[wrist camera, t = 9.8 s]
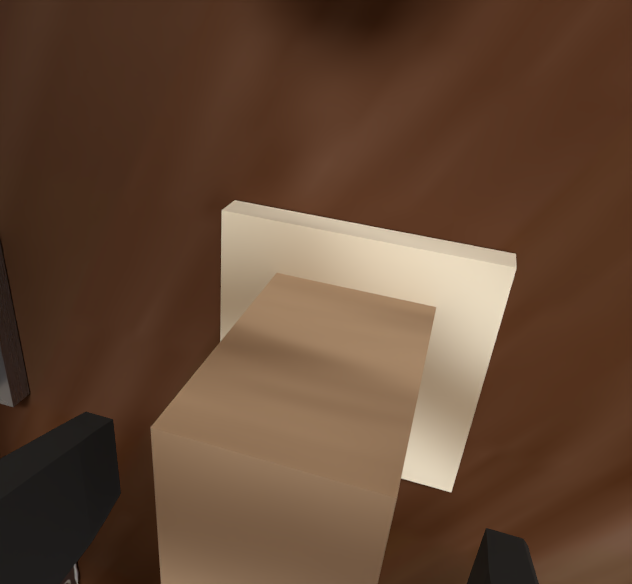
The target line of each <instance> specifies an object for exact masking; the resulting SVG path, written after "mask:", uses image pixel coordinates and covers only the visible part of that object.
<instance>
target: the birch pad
mask: <svg viewBox="0 0 632 584" xmlns="http://www.w3.org/2000/svg"><path fill="white" fill-rule="evenodd" d="M516 268H517V266H516V254H514V253H508V252H503V251H498V250H493V249H487V248H482V247H477V246H472V245H466V244H461V243H456V242H451V241H446V240H440V239H435V238H430V237H425V236H419V235H414V234H409V233H404V232H398V231H393V230H388V229H383V228H377V227H372V226H367V225H362V224H356V223H351V222H346V221H341V220H335V219H330V218H325V217H320V216H314V215H309V214H304V213H299V212H294V211H288V210H283V209H278V208H273V207H267V206H262V205H257V204H252V203H246V202H241V201H236V200H235V201H233V202H232V203H231V204H229V205H228V206H227V207H225V208H224V209H223V210H222V231H221V328H220V342H221V340H222V339H223V338H224V337H225V335H226V334H227V333H228V332H229V331H230V329H231V328H232V327H233V326H234V324H235V323H236V322H237V321H238V320H239V318H240V317H241V316H242V315H243V313H244V312H245V311H246V310H247V309H248V307H249V306H250V305H251V304H252V302H253V301H254V300H255V299H256V297H257V296H258V295H259V294H260V293H261V291H262V290H263V289H264V288H265V286H266V285H267V284H268V283H269V282H270V280H271V279H272V278H273V277H274V275H275V274H276V273H280V274H285V275H290V276H294V277H299V278H304V279H308V280H313V281H317V282H322V283H327V284H331V285H336V286H341V287H345V288H350V289H355V290H359V291H364V292H369V293H373V294H378V295H383V296H387V297H392V298H397V299H401V300H406V301H411V302H415V303H420V304H425V305H429V306H434V307H436V311H435V316H434V321H433V326H432V331H431V336H430V340H429V345H428V350H427V355H426V360H425V365H424V370H423V374H422V379H421V384H420V389H419V394H418V399H417V403H416V408H415V413H414V418H413V423H412V428H411V432H410V437H409V442H408V447H407V452H406V457H405V461H404V466H403V471H402V476H401V478H402V479H405V480H409V481H412V482H416V483H420V484H423V485H427V486H430V487H434V488H437V489H441V490H445V491H448V492H452V488H453V485H454V481H455V478H456V475H457V471H458V468H459V464H460V461H461V457H462V454H463V451H464V447H465V444H466V440H467V437H468V433H469V430H470V426H471V423H472V420H473V416H474V413H475V409H476V406H477V402H478V399H479V396H480V392H481V389H482V385H483V382H484V378H485V375H486V371H487V368H488V365H489V361H490V358H491V354H492V351H493V347H494V344H495V341H496V337H497V334H498V330H499V327H500V323H501V320H502V316H503V313H504V310H505V306H506V303H507V299H508V296H509V292H510V289H511V286H512V282H513V279H514V275H515V272H516Z"/></svg>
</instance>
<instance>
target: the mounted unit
mask: <svg viewBox="0 0 632 584" xmlns="http://www.w3.org/2000/svg"><path fill="white" fill-rule="evenodd" d="M29 394H30V392H29V387H28V381H27V376H26V371H25V366H24V361H23V356H22V351H21V345H20V340H19V335H18V330H17V325H16V320H15V315H14V309H13V304H12V299H11V294H10V289H9V284H8V279H7V273H6V268H5V263H4V258H3V253H2V248H1V243H0V403H1V404H4V405H7V406H11V407H14V406H16V405H17V404H18V403H19V402H20V401H21V400H23V399H24V398H25V397H26V396H27V395H29Z"/></svg>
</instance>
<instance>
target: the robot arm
mask: <svg viewBox="0 0 632 584" xmlns="http://www.w3.org/2000/svg"><path fill="white" fill-rule="evenodd" d="M120 494H121V491H120V482H119V472H118V462H117V453H116V443H115V434H114V424H113V419H109V418H106V417H103V416H99V415H96V414H92V413H89V412H85V413H83V414H81V415H79V416H77V417H75V418H73V419H71V420H69V421H68V422H66V423H64V424H62V425H60V426H58V427H57V428H55V429H53V430H51V431H49V432H48V433H46V434H44V435H42V436H40V437H39V438H37V439H35V440H33V441H32V442H30V443H28V444H26V445H24V446H23V447H21V448H19V449H17V450H15V451H13V452H12V453H10V454H8V455H6V456H4V457H2V458H1V459H0V584H60V583H61V582H62V581H63V580H64V578H65V577H66V576H67V574H68V573H69V572H70V570H71V569H72V568H73V566H74V565H75V564H76V562H77V561H78V560H79V558H80V557H81V556H82V554H83V553H84V552H85V550H86V549H87V548H88V546H89V545H90V544H91V542H92V541H93V539H94V538H95V536H96V534H97V533H98V531H99V530H100V528H101V526H102V525H103V523H104V521H105V520H106V518H107V516H108V515H109V513H110V511H111V509H112V508H113V506H114V504H115V502H116V501H117V499H118V497H119V496H120ZM467 584H539V583H538V580H537V576H536V573H535V570H534V566H533V563H532V559H531V556H530V552H529V548H528V545H527V544H526V542H525V541H524V539H522V538H519V537H515V536H512V535H508V534H505V533H501V532H498V531H495V530H491V529H488V528H486V530H485V533H484V536H483V539H482V541H481V544H480V547H479V550H478V553H477V556H476V559H475V562H474V565H473V567H472V570H471V573H470V576H469V579H468V582H467Z"/></svg>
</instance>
